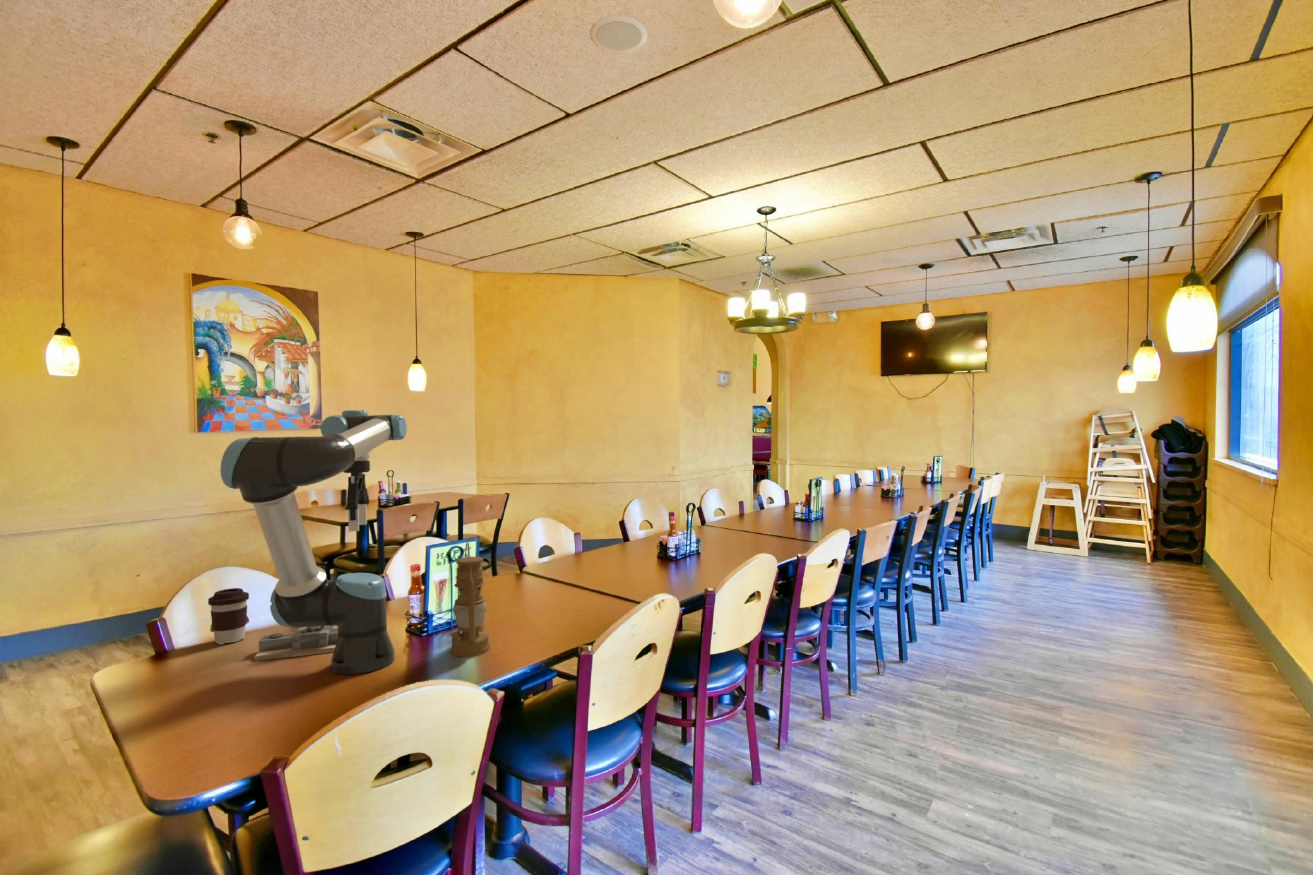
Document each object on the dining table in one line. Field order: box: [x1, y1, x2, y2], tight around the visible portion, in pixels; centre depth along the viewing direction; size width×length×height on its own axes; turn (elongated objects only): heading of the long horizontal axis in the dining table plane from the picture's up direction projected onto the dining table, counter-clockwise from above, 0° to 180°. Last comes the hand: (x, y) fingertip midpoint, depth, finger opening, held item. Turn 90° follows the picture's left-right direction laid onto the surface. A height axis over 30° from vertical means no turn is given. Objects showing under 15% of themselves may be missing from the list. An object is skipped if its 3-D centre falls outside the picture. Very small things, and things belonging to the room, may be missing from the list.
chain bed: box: [254, 626, 338, 662], centre depth 173 cm, size 12×26×5 cm, turn 107°
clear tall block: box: [306, 626, 321, 632], centre depth 174 cm, size 4×4×12 cm
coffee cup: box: [207, 587, 250, 643], centre depth 181 cm, size 10×10×15 cm
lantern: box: [450, 542, 491, 658], centre depth 169 cm, size 15×10×30 cm
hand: (358, 527), depth 189 cm, fingers open, 13 cm apart
